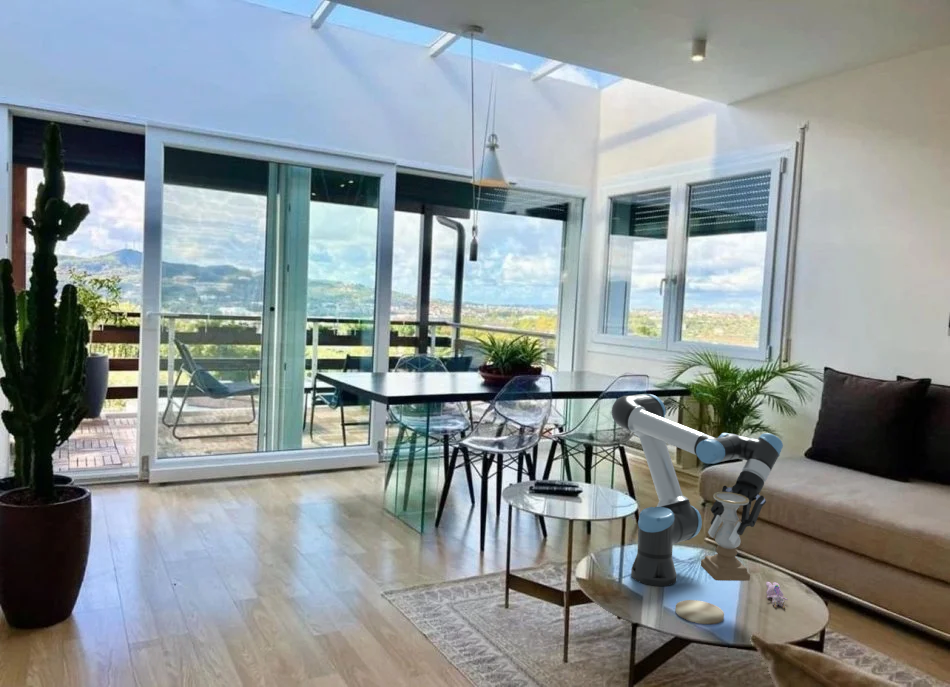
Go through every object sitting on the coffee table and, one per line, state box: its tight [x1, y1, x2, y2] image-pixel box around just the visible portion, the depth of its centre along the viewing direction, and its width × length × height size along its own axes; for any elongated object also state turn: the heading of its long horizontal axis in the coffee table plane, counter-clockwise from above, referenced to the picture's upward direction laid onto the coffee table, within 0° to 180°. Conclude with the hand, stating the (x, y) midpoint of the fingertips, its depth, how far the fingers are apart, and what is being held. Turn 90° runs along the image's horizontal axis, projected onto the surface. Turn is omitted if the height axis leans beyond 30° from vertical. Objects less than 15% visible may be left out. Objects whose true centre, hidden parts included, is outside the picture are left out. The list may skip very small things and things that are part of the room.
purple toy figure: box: [765, 581, 789, 609], centre depth 218 cm, size 6×6×15 cm
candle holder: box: [700, 491, 751, 582], centre depth 205 cm, size 11×11×24 cm
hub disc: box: [675, 599, 725, 625], centre depth 206 cm, size 14×14×1 cm
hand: (720, 538), depth 203 cm, fingers closed on candle holder, 6 cm apart
